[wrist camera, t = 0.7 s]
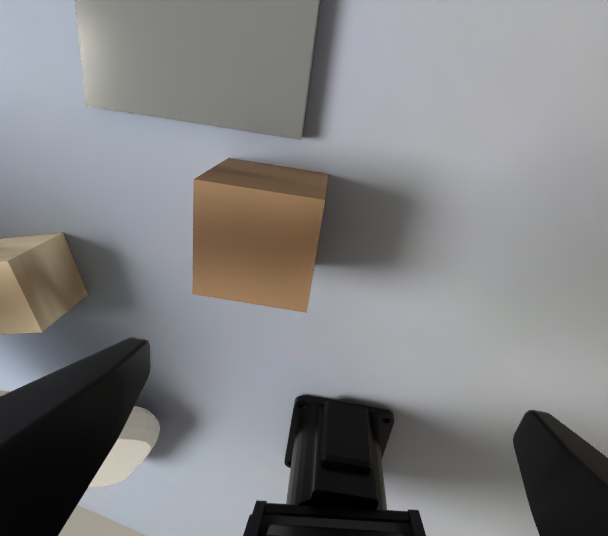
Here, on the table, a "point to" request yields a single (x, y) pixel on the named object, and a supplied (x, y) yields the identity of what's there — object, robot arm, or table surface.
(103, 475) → the white elongated block
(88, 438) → the robot arm
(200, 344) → the table surface
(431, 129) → the table surface
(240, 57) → the plate
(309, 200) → the walnut cube
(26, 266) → the maple cube
